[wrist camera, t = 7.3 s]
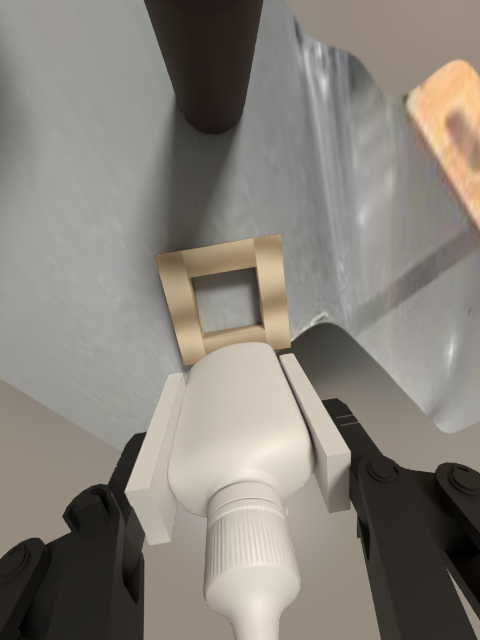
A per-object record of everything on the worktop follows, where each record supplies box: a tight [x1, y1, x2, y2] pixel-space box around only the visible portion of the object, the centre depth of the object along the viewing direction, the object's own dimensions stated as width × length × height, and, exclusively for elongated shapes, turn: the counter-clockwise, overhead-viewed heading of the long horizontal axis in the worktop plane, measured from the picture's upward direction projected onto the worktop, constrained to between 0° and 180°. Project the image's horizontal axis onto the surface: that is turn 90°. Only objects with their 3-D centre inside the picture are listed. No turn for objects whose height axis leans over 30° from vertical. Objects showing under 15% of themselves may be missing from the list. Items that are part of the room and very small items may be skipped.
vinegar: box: [144, 0, 263, 134], centre depth 15 cm, size 7×7×20 cm
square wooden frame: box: [155, 234, 291, 366], centre depth 30 cm, size 14×14×2 cm
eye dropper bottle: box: [167, 342, 316, 640], centre depth 10 cm, size 4×6×12 cm
